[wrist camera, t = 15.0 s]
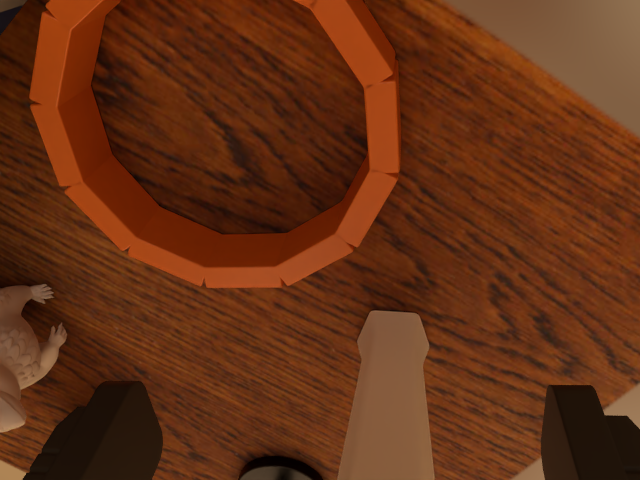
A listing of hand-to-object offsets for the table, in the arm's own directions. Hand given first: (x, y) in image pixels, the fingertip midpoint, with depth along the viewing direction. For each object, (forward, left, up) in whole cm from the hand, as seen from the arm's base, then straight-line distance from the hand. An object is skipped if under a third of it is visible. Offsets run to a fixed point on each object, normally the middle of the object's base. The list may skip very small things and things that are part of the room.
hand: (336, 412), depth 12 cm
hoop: (-6, +1, -16) cm, 17 cm away
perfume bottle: (0, -12, -16) cm, 20 cm away
